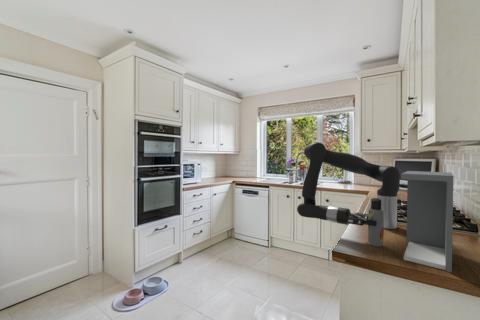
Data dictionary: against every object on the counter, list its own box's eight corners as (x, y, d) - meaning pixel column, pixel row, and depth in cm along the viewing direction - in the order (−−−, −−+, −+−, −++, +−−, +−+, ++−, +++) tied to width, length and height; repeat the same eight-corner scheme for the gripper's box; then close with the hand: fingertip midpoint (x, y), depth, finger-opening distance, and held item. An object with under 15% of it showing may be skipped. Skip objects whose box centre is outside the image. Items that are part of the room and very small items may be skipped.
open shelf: (406, 242, 101) (408, 171, 100) (449, 251, 92) (451, 172, 91) (400, 259, 84) (401, 173, 84) (451, 272, 75) (453, 175, 74)
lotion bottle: (384, 244, 99) (385, 198, 99) (381, 248, 95) (381, 200, 95) (370, 240, 103) (371, 197, 103) (366, 244, 99) (366, 198, 99)
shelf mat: (409, 245, 98) (409, 241, 98) (444, 252, 91) (444, 248, 91) (403, 259, 84) (403, 255, 84) (445, 270, 76) (445, 265, 76)
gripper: (333, 209, 104) (374, 216, 93) (343, 205, 115) (381, 210, 103) (332, 226, 104) (374, 234, 93) (343, 219, 115) (381, 226, 104)
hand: (378, 221), depth 98 cm, fingers open, 6 cm apart
